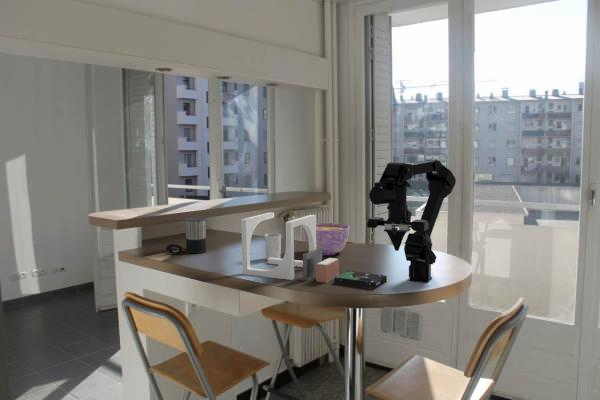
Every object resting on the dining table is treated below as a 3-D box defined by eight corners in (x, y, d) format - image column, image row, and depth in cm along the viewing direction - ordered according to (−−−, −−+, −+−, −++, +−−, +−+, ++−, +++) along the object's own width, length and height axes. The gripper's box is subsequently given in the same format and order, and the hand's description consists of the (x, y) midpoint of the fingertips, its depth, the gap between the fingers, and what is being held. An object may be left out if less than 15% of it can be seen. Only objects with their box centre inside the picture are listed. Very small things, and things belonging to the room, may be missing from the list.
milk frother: (211, 251, 223) (210, 218, 222) (182, 257, 211) (180, 222, 210) (191, 247, 232) (189, 215, 231) (161, 253, 220) (160, 219, 219)
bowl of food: (359, 252, 217) (359, 225, 216) (330, 260, 202) (330, 232, 201) (323, 246, 230) (323, 221, 229) (293, 254, 216) (293, 227, 214)
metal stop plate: (322, 273, 183) (322, 248, 182) (307, 280, 173) (306, 254, 172) (313, 271, 185) (313, 247, 184) (297, 279, 174) (297, 253, 173)
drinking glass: (275, 256, 212) (274, 232, 210) (284, 259, 206) (284, 234, 205) (261, 258, 207) (261, 234, 206) (271, 261, 202) (270, 236, 201)
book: (339, 276, 179) (339, 258, 178) (326, 283, 170) (326, 264, 170) (328, 274, 181) (328, 257, 180) (316, 281, 172) (316, 263, 171)
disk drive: (387, 283, 170) (347, 277, 178) (387, 275, 170) (347, 269, 178) (375, 291, 162) (333, 284, 169) (375, 282, 161) (333, 276, 169)
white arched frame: (242, 274, 183) (241, 219, 181) (270, 262, 201) (269, 212, 199) (291, 280, 174) (290, 222, 172) (316, 267, 192) (315, 214, 190)
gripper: (433, 200, 164) (432, 248, 165) (377, 198, 172) (377, 243, 174) (424, 204, 154) (423, 255, 156) (366, 202, 163) (366, 250, 164)
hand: (397, 250), depth 163 cm, fingers closed
